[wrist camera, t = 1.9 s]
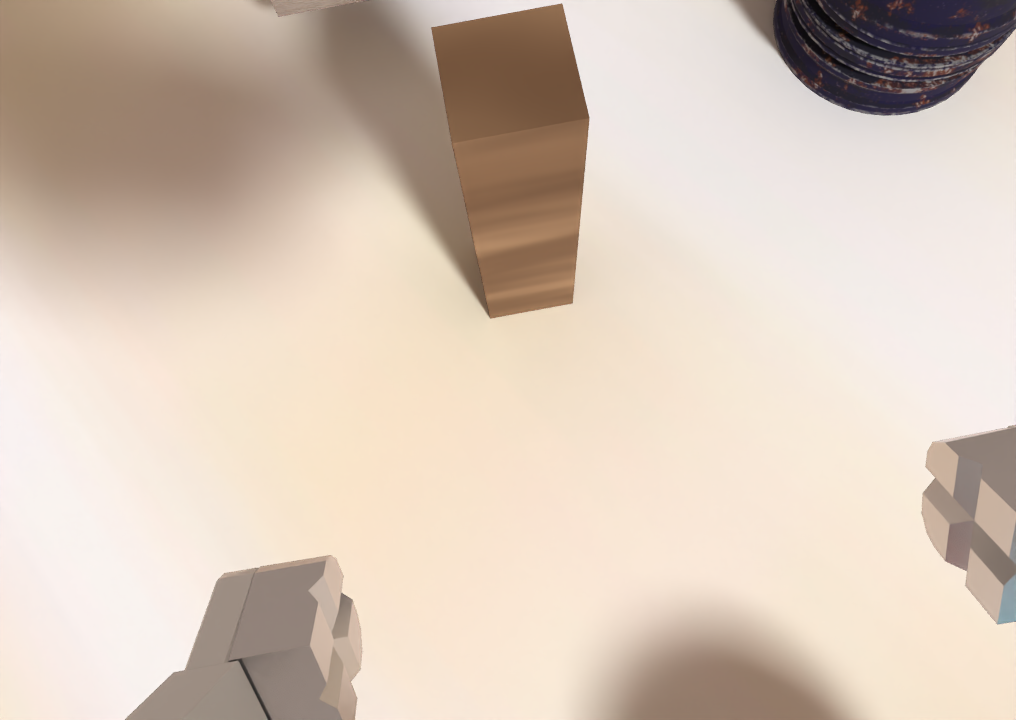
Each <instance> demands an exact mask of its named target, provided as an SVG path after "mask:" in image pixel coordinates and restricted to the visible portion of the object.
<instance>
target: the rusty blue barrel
mask: <svg viewBox="0 0 1016 720" xmlns="http://www.w3.org/2000/svg"><path fill="white" fill-rule="evenodd" d="M773 26H774V34H775V39H776V42H777V45H778V49H779V51H780V53H781V55H782V57H783V59H784V61H785V63H786V64H787V65H788V67H789V68H790V69H791V71H792V72H793V74H794V75H795V76H796V77H797V78H798V79H799V80H800V81H801V82H802V83H803V84H804V85H805V86H806V87H808V88H809V89H810V90H812V91H813V92H814V93H816V94H817V95H819V96H820V97H822V98H824V99H826V100H828V101H830V102H831V103H833V104H836V105H838V106H841V107H844V108H846V109H849V110H853V111H857V112H861V113H865V114H874V115H902V114H908V113H914V112H918V111H921V110H924V109H927V108H930V107H933V106H935V105H937V104H939V103H941V102H943V101H945V100H947V99H948V98H949V97H951V96H952V95H953V94H955V93H956V92H957V91H959V90H960V89H961V87H962V86H963V85H964V84H965V83H966V82H967V81H968V80H969V79H970V78H971V77H972V75H973V74H974V73H975V71H976V70H977V68H978V67H979V66H980V65H981V64H982V63H983V62H984V61H985V60H986V59H987V58H989V57H990V56H991V55H993V53H994V52H995V51H996V50H997V49H998V48H999V47H1000V46H1001V45H1002V44H1003V43H1004V42H1005V40H1006V39H1007V38H1008V37H1009V36H1010V35H1011V34H1012V32H1013V31H1014V30H1015V29H1016V0H777V1H776V4H775V8H774V18H773Z"/></svg>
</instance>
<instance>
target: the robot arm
mask: <svg viewBox="0 0 1016 720" xmlns="http://www.w3.org/2000/svg"><path fill="white" fill-rule="evenodd" d="M925 467H926V468H927V469H928V470H929V471H930V472H931V473H932V475H933V476H934V477H935V479H934V480H933V481H932V483H931V484H930V485H929V486H928V487H927V489H926V490H925V491H924V492H923V497H922V516H923V520H924V524H925V528H926V532H927V534H928V536H929V538H930V540H931V542H932V544H933V546H934V547H935V549H936V550H937V551H938V553H939V554H940V555H941V556H942V558H943V559H944V560H945V561H946V562H948V563H950V564H953V565H955V566H957V567H959V568H961V569H963V570H965V571H967V575H966V584H965V586H966V587H967V588H968V590H969V591H970V592H971V593H972V595H973V596H974V597H975V598H976V599H977V601H978V602H979V603H980V604H981V605H982V607H983V608H984V609H985V610H986V611H987V613H988V614H989V615H990V616H991V618H992V619H993V620H994V621H995V622H996V624H1003V623H1010V622H1016V425H1012V426H1008V427H1007V428H1002V429H996V430H991V431H986V432H981V433H976V434H971V435H966V436H960V437H955V438H950V439H945V440H940V441H935V442H932V444H931V446H930V448H929V449H928V451H927V458H926V466H925ZM342 583H343V573H342V571H341V569H340V566H339V564H338V562H337V559H336V558H335V557H333V556H331V555H328V556H322V557H316V558H310V559H303V560H297V561H291V562H285V563H279V564H273V565H267V566H261V567H260V568H252V569H246V570H241V571H235V572H229V573H224V574H223V575H222V576H221V577H220V578H219V579H218V580H217V582H216V584H215V587H214V590H213V592H212V595H211V598H210V601H209V604H208V606H207V609H206V612H205V615H204V618H203V620H202V623H201V626H200V629H199V632H198V634H197V637H196V640H195V643H194V645H193V648H192V651H191V654H190V657H189V659H188V662H187V665H186V668H185V670H184V671H179V672H174V673H173V674H172V675H171V676H169V677H168V678H167V679H166V680H165V681H164V682H163V683H162V684H161V685H160V686H159V687H158V688H157V689H156V690H155V691H154V692H153V693H152V694H151V695H150V696H149V697H148V698H147V699H146V700H145V701H144V702H143V703H142V704H141V705H139V706H138V707H137V708H136V709H135V710H134V711H133V712H132V713H131V714H130V715H129V716H128V717H127V718H126V719H125V720H355V714H356V705H357V696H356V693H355V691H354V688H353V686H352V683H351V681H352V679H353V678H354V677H355V676H356V674H357V673H358V672H359V671H360V670H361V659H362V639H361V628H360V623H359V618H358V614H357V611H356V608H355V605H354V602H353V600H352V599H350V598H349V597H347V596H346V595H344V594H343V593H341V590H342Z"/></svg>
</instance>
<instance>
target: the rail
mask: <svg viewBox="0 0 1016 720" xmlns="http://www.w3.org/2000/svg"><path fill="white" fill-rule="evenodd" d="M431 29H432V35H433V40H434V46H435V51H436V57H437V63H438V68H439V74H440V79H441V85H442V90H443V96H444V102H445V107H446V113H447V118H448V124H449V130H450V135H451V141H452V146H453V150H454V155H455V160H456V164H457V169H458V173H459V178H460V182H461V187H462V191H463V196H464V201H465V205H466V210H467V214H468V219H469V223H470V228H471V233H472V237H473V242H474V246H475V251H476V255H477V260H478V264H479V269H480V274H481V278H482V283H483V287H484V292H485V296H486V301H487V306H488V310H489V315H490V318H495V317H501V316H506V315H512V314H517V313H522V312H528V311H533V310H539V309H544V308H549V307H555V306H560V305H566V304H571V303H573V292H574V281H575V270H576V259H577V248H578V237H579V226H580V215H581V205H582V194H583V183H584V172H585V161H586V150H587V139H588V128H589V114H588V110H587V106H586V102H585V97H584V93H583V89H582V85H581V81H580V76H579V72H578V68H577V64H576V59H575V55H574V51H573V47H572V43H571V38H570V34H569V30H568V26H567V22H566V17H565V13H564V9H563V5H562V4H557V5H551V6H546V7H541V8H535V9H530V10H524V11H519V12H513V13H508V14H503V15H497V16H492V17H486V18H481V19H475V20H470V21H465V22H459V23H454V24H448V25H443V26H438V27H432V28H431Z"/></svg>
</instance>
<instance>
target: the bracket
mask: <svg viewBox="0 0 1016 720" xmlns="http://www.w3.org/2000/svg"><path fill="white" fill-rule="evenodd" d="M362 1H367V0H271V2H272V5H273V7H274V9H275V11H276V13H277V15H278V17H280V16H286V15H291V14H296V13H302V12H307V11H313V10H318V9H324V8H329V7H334V6H340V5H345V4H351V3H356V2H362Z"/></svg>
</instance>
